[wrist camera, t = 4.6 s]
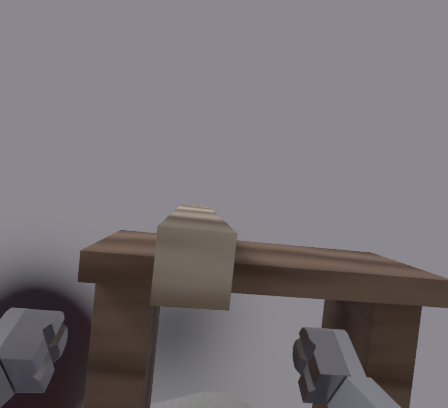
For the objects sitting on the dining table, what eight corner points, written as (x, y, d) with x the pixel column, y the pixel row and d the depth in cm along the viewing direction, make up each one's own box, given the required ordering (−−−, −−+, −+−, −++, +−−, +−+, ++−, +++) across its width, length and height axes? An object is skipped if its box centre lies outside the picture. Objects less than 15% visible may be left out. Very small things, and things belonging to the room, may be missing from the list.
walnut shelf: (410, 623, 22) (454, 280, 21) (44, 643, 19) (80, 250, 18) (342, 487, 32) (370, 252, 31) (95, 488, 29) (120, 230, 28)
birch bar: (228, 310, 11) (237, 233, 11) (149, 305, 11) (157, 226, 11) (206, 235, 31) (209, 207, 31) (178, 232, 31) (181, 204, 31)
